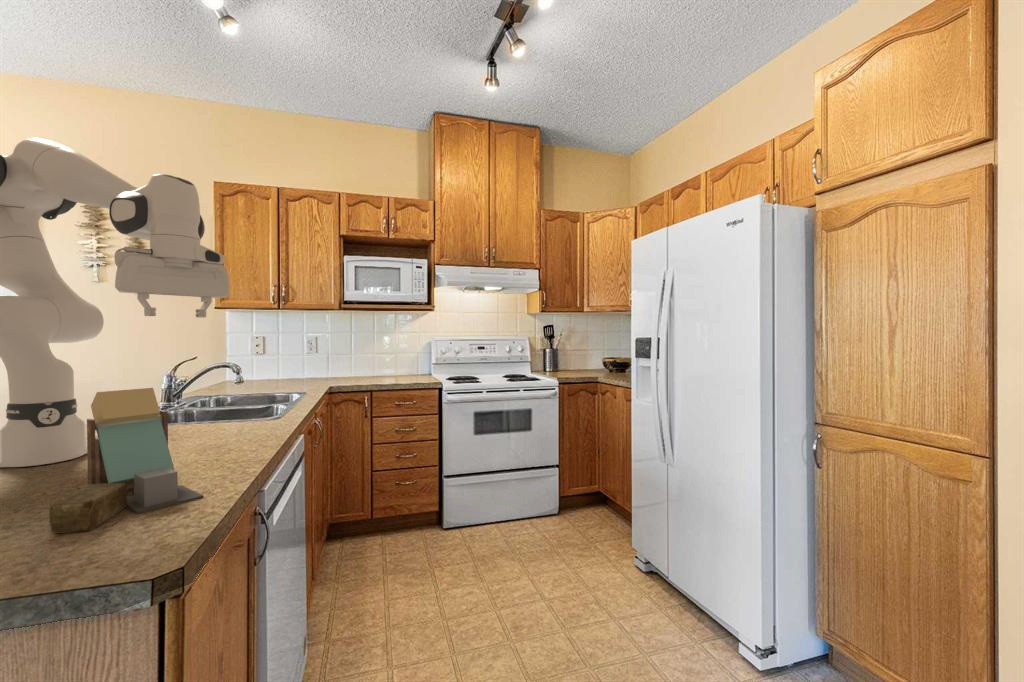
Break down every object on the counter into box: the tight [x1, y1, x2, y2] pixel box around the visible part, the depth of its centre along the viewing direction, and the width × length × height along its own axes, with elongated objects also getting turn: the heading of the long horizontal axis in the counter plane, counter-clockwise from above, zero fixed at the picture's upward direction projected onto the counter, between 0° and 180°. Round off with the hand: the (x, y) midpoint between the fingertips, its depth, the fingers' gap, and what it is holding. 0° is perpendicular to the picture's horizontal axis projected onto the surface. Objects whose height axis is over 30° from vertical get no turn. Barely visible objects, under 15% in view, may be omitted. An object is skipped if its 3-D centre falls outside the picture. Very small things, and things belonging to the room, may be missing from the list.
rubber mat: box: [125, 484, 204, 515], centre depth 87 cm, size 10×10×1 cm
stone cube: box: [133, 467, 179, 507], centre depth 86 cm, size 5×5×5 cm
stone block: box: [48, 483, 128, 534], centre depth 78 cm, size 6×12×5 cm, turn 15°
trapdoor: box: [90, 387, 175, 483], centre depth 92 cm, size 18×10×5 cm
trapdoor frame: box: [77, 410, 169, 490], centre depth 95 cm, size 8×13×14 cm, turn 145°
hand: (176, 316), depth 101 cm, fingers open, 8 cm apart
